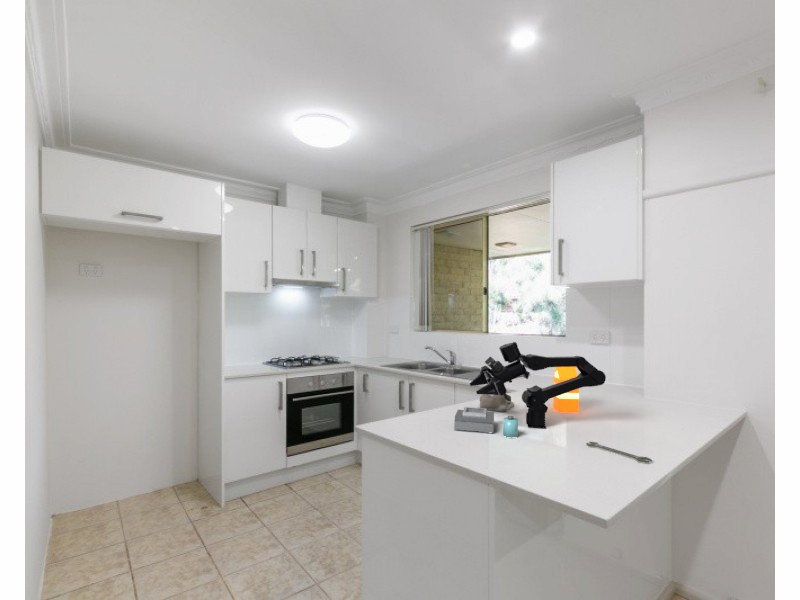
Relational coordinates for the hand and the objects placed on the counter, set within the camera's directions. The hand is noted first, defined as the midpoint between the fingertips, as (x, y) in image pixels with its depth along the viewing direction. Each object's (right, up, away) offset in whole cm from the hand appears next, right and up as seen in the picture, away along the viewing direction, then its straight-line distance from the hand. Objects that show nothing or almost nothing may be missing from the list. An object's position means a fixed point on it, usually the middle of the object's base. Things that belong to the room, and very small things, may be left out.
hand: (473, 388), depth 159 cm
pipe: (+15, -15, +25) cm, 33 cm away
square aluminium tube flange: (0, -14, -3) cm, 14 cm away
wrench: (+40, -15, -29) cm, 52 cm away
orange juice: (+47, -16, +27) cm, 56 cm away
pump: (+11, -14, -13) cm, 22 cm away
